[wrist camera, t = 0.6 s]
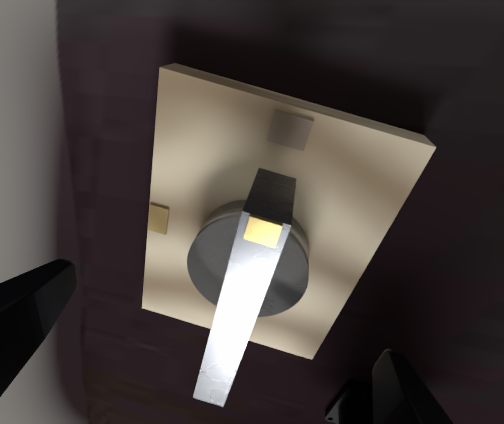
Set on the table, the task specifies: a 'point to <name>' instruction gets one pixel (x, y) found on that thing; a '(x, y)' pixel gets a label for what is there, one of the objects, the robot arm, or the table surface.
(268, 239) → the silver dome with handle
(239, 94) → the base plate
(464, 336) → the table surface
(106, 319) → the table surface
